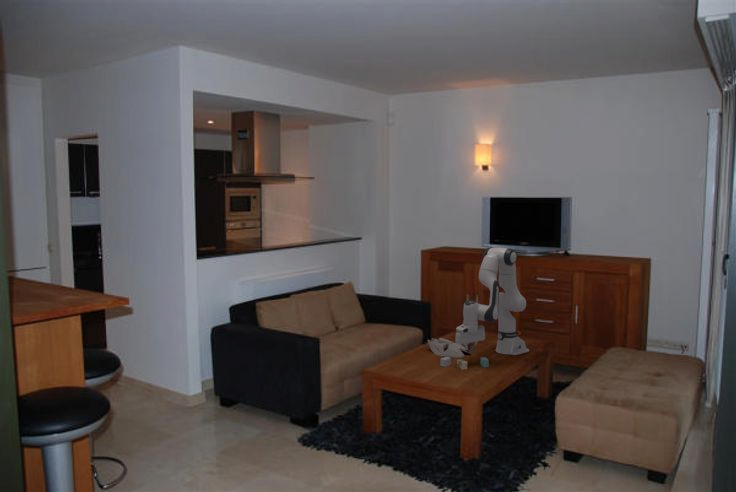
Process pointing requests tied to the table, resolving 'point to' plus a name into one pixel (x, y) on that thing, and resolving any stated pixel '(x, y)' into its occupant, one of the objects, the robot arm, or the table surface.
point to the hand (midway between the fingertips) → (470, 349)
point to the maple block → (462, 364)
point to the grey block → (445, 361)
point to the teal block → (484, 362)
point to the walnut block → (471, 348)
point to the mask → (451, 352)
